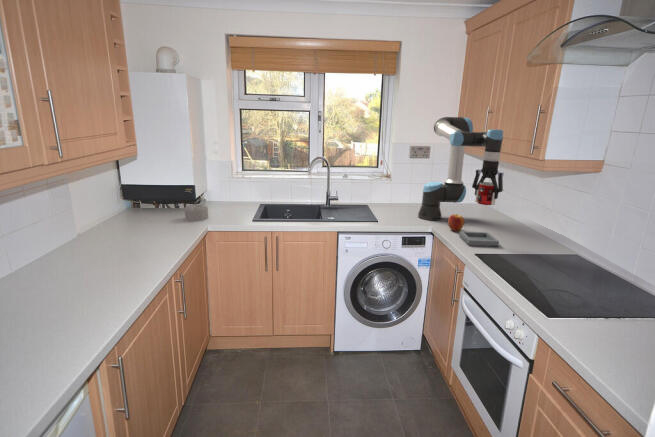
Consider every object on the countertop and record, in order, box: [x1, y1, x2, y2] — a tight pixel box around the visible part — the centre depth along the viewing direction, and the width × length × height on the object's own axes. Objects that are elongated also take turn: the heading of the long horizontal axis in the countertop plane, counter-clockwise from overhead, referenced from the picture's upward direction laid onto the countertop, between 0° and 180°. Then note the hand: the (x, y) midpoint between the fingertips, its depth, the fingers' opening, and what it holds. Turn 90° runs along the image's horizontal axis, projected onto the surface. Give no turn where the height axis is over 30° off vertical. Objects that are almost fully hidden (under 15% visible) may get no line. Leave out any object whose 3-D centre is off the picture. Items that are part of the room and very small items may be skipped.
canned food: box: [476, 181, 495, 206], centre depth 198 cm, size 8×8×11 cm
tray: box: [459, 230, 500, 248], centre depth 204 cm, size 16×16×3 cm
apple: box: [447, 213, 465, 232], centre depth 221 cm, size 9×9×10 cm
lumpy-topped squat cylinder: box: [184, 203, 209, 223], centre depth 229 cm, size 10×13×9 cm
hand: (484, 203), depth 199 cm, fingers closed on canned food, 8 cm apart
